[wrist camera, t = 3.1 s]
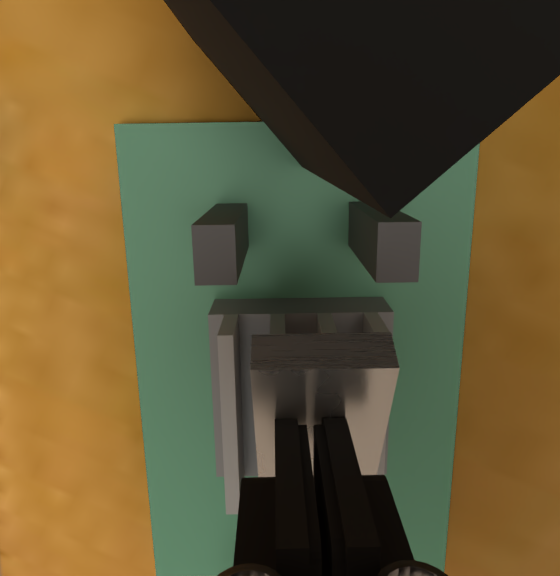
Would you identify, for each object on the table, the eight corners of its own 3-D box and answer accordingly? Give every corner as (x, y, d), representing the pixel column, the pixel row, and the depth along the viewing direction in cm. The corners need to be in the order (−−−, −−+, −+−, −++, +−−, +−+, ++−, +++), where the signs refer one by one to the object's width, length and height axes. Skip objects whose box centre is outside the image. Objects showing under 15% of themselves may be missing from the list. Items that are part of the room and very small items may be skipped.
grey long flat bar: (353, 611, 23) (356, 648, 22) (255, 612, 23) (254, 649, 22) (421, 325, 11) (436, 375, 10) (220, 328, 11) (214, 379, 10)
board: (437, 555, 30) (505, 729, 21) (161, 560, 30) (110, 734, 21) (471, 119, 23) (589, 101, 15) (121, 125, 23) (26, 109, 15)
